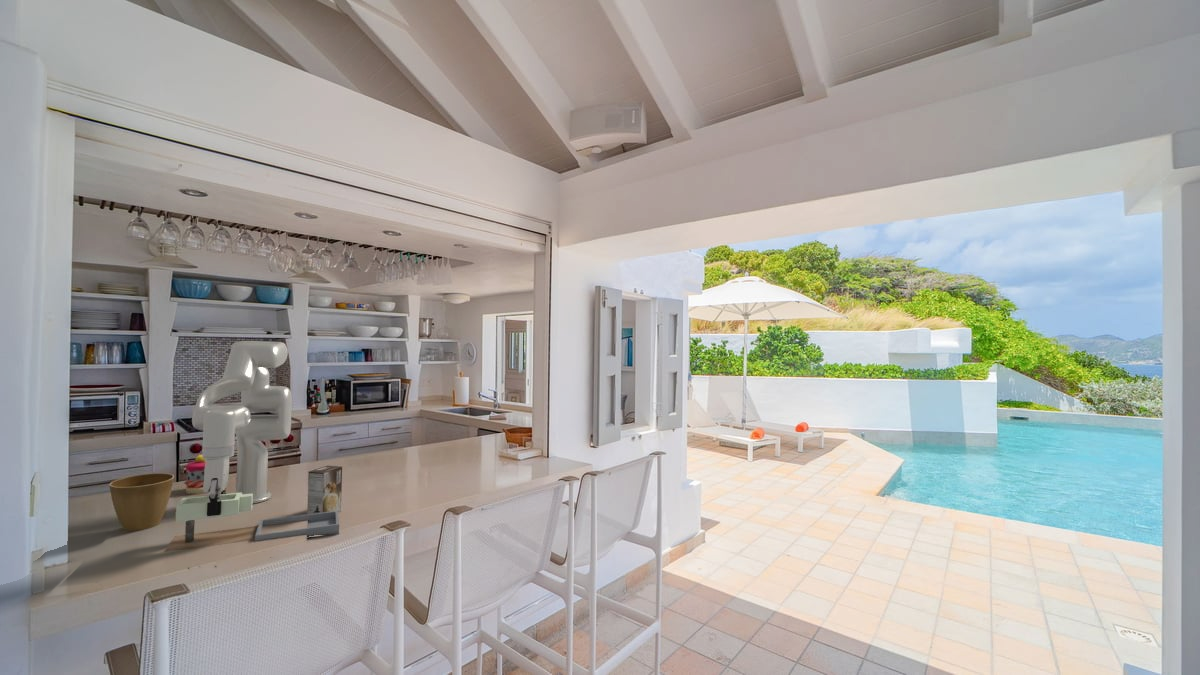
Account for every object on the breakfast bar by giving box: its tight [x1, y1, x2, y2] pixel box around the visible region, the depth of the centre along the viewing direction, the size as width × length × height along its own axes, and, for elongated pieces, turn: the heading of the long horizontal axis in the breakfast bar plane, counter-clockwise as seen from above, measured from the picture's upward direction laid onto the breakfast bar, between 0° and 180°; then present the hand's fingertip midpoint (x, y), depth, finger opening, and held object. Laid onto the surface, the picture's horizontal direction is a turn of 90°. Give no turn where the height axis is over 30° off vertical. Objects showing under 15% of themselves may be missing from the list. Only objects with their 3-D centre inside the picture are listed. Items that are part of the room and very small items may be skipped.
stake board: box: [163, 520, 257, 553], centre depth 148 cm, size 12×20×8 cm, turn 119°
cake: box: [183, 454, 209, 495], centre depth 196 cm, size 10×11×15 cm
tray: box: [254, 511, 340, 542], centre depth 158 cm, size 14×22×3 cm, turn 119°
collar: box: [175, 492, 254, 523], centre depth 148 cm, size 7×17×4 cm, turn 119°
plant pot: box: [109, 472, 175, 532], centre depth 155 cm, size 15×15×16 cm
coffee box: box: [306, 465, 343, 514], centre depth 174 cm, size 9×6×16 cm
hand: (216, 510), depth 148 cm, fingers closed on collar, 7 cm apart
